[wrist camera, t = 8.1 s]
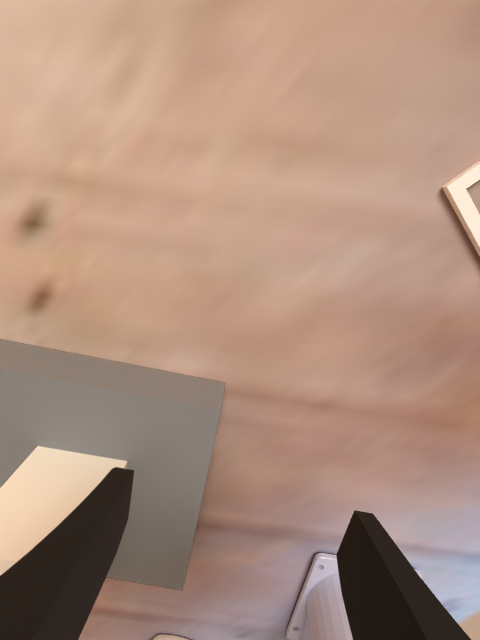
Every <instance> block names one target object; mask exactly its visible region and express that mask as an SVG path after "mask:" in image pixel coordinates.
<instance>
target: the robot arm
mask: <svg viewBox="0 0 480 640" xmlns="http://www.w3.org/2000/svg"><path fill="white" fill-rule="evenodd" d="M133 477H134V470H130V469H124V468H119V467H114V468H113V469H111V470H110V471H109V473H108V474H107V475H106V476H105V477H104V478H103V480H102V481H101V482H100V483H99V484H98V485H97V486H96V487H95V488H94V490H93V491H92V492H91V493H90V494H89V495H88V496H87V497H86V498H85V499H84V500H83V501H82V502H81V503H80V504H79V505H78V506H77V507H76V508H75V509H74V510H73V511H72V512H71V513H70V514H69V515H68V516H67V517H66V518H65V519H64V520H63V521H62V522H61V523H60V524H59V525H58V526H57V527H56V528H55V529H54V530H52V531H51V532H50V533H49V534H48V535H47V536H46V537H45V538H44V539H42V540H41V541H40V542H39V543H38V544H37V545H36V546H35V547H34V548H33V549H31V550H30V551H29V552H28V553H27V554H26V555H24V556H23V557H22V558H21V559H20V560H19V561H17V562H16V563H15V564H14V565H13V566H11V567H10V568H9V569H8V570H7V571H5V572H4V573H3V574H2V575H0V640H78V639H79V636H80V634H81V632H82V630H83V627H84V625H85V623H86V621H87V619H88V616H89V614H90V612H91V610H92V607H93V605H94V603H95V601H96V598H97V596H98V594H99V592H100V590H101V587H102V585H103V583H104V581H105V578H106V576H107V574H108V572H109V569H110V567H111V565H112V563H113V560H114V558H115V556H116V553H117V550H118V548H119V545H120V542H121V539H122V536H123V533H124V530H125V527H126V524H127V521H128V517H129V509H130V501H131V493H132V485H133ZM286 634H287V638H288V639H289V640H471V639H470V638H469V637H468V635H467V634H466V633H465V632H464V631H463V630H462V628H461V627H460V626H459V625H458V624H457V622H456V621H455V620H454V619H453V618H452V616H451V615H450V614H449V613H448V611H447V610H446V609H445V608H444V607H443V605H442V604H441V603H440V602H439V600H438V599H437V598H436V597H435V595H434V594H433V593H432V592H431V590H430V589H429V588H428V587H427V585H426V584H425V583H424V581H423V580H422V575H421V573H420V571H419V570H416V569H414V568H413V567H412V566H411V564H410V563H409V562H408V560H407V559H406V558H405V556H404V555H403V554H402V552H401V551H400V550H399V548H398V547H397V546H396V544H395V543H394V541H393V540H392V539H391V537H390V536H389V535H388V533H387V532H386V531H385V529H384V528H383V526H382V525H381V524H380V522H379V521H378V520H377V519H376V517H375V516H374V515H373V514H372V513H366V512H361V511H354V513H353V516H352V518H351V520H350V523H349V525H348V528H347V530H346V533H345V535H344V538H343V540H342V542H341V545H340V547H339V550H338V552H337V555H332V554H326V553H318V554H316V555H315V557H314V560H313V562H312V565H311V568H310V570H309V573H308V575H307V578H306V581H305V583H304V586H303V589H302V591H301V594H300V597H299V599H298V602H297V604H296V607H295V610H294V612H293V615H292V618H291V620H290V623H289V625H288V628H287V631H286Z"/></svg>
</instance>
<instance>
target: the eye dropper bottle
mask: <svg viewBox="0 0 480 640" xmlns="http://www.w3.org/2000/svg"><path fill="white" fill-rule="evenodd" d="M153 640H189V639H187V638H183V637H180V636H175V635H167V634H160V635H157V636H156V637H154V639H153Z"/></svg>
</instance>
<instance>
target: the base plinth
mask: <svg viewBox="0 0 480 640" xmlns="http://www.w3.org/2000/svg"><path fill="white" fill-rule="evenodd" d="M224 387H225V383H224V382H219V381H214V380H209V379H204V378H198V377H193V376H188V375H183V374H178V373H173V372H167V371H162V370H157V369H152V368H147V367H142V366H136V365H131V364H126V363H121V362H116V361H110V360H105V359H100V358H95V357H90V356H85V355H79V354H74V353H69V352H64V351H59V350H54V349H48V348H43V347H38V346H33V345H28V344H22V343H17V342H12V341H7V340H2V339H0V488H1V487H2V486H3V485H4V483H5V482H6V481H7V480H8V479H9V478H10V477H11V476H12V474H13V473H14V472H15V471H16V470H17V469H18V468H19V467H20V465H21V464H22V463H23V462H24V461H25V460H26V459H27V458H28V456H29V455H30V454H31V453H32V452H33V451H34V450H35V449H36V447H37V446H41V447H47V448H52V449H58V450H64V451H70V452H76V453H82V454H88V455H94V456H100V457H106V458H112V459H117V460H123V461H127V469H130V470H134V477H133V485H132V493H131V501H130V509H129V517H128V521H127V524H126V527H125V530H124V533H123V536H122V539H121V542H120V545H119V548H118V550H117V553H116V556H115V558H114V560H113V563H112V565H111V567H110V569H109V572H108V574H107V576H106V578H111V579H117V580H123V581H129V582H134V583H140V584H146V585H152V586H158V587H164V588H170V589H176V590H182V591H183V587H184V582H185V578H186V573H187V568H188V564H189V559H190V554H191V549H192V545H193V540H194V535H195V531H196V526H197V521H198V517H199V512H200V507H201V503H202V498H203V493H204V489H205V484H206V479H207V475H208V470H209V465H210V461H211V456H212V451H213V446H214V442H215V437H216V432H217V428H218V423H219V418H220V414H221V408H222V401H223V394H224Z"/></svg>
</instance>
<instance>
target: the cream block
mask: <svg viewBox="0 0 480 640" xmlns="http://www.w3.org/2000/svg"><path fill="white" fill-rule="evenodd" d="M114 467H119V468H124V469H127V461H123V460H117V459H112V458H106V457H100V456H94V455H88V454H82V453H76V452H70V451H64V450H58V449H52V448H47V447H41V446H37V447H36V449H35V450H34V451H33V452H32V453H31V454H30V455H29V456H28V458H27V459H26V460H25V461H24V462H23V463H22V464H21V465H20V467H19V468H18V469H17V470H16V471H15V472H14V473H13V474H12V476H11V477H10V478H9V479H8V480H7V481H6V482H5V483H4V485H3V486H2V487H1V488H0V575H2V574H3V573H4V572H5V571H7V570H8V569H9V568H10V567H11V566H13V565H14V564H15V563H16V562H17V561H19V560H20V559H21V558H22V557H23V556H24V555H26V554H27V553H28V552H29V551H30V550H31V549H33V548H34V547H35V546H36V545H37V544H38V543H39V542H40V541H41V540H42V539H44V538H45V537H46V536H47V535H48V534H49V533H50V532H51V531H52V530H54V529H55V528H56V527H57V526H58V525H59V524H60V523H61V522H62V521H63V520H64V519H65V518H66V517H67V516H68V515H69V514H70V513H71V512H72V511H73V510H74V509H75V508H76V507H77V506H78V505H79V504H80V503H81V502H82V501H83V500H84V499H85V498H86V497H87V496H88V495H89V494H90V493H91V492H92V491H93V490H94V488H95V487H96V486H97V485H98V484H99V483H100V482H101V481H102V480H103V478H104V477H105V476H106V475H107V474H108V473H109V471H110V470H111V469H113V468H114Z"/></svg>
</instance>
